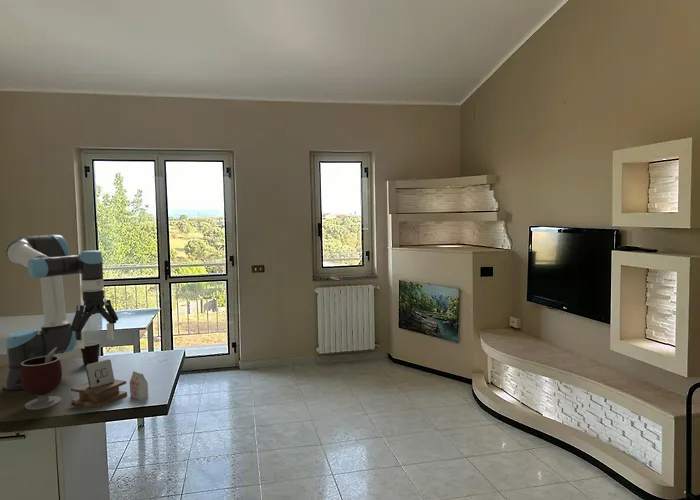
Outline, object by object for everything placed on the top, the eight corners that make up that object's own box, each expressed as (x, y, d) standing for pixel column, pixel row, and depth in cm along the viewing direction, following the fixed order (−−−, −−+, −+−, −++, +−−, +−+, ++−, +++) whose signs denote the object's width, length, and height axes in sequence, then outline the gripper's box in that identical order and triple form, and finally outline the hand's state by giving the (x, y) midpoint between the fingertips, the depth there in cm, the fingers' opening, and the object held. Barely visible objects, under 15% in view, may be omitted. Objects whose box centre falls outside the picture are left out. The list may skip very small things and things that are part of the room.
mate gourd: (45, 411, 191) (42, 358, 190) (13, 409, 193) (9, 357, 192) (74, 396, 206) (71, 347, 205) (44, 394, 209) (41, 346, 207)
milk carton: (139, 394, 207) (137, 369, 207) (148, 397, 203) (147, 372, 203) (130, 396, 204) (129, 372, 204) (139, 400, 200) (138, 375, 200)
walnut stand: (71, 403, 198) (70, 388, 198) (101, 391, 211) (101, 377, 211) (97, 408, 193) (96, 392, 192) (127, 395, 206) (126, 381, 205)
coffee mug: (85, 361, 255) (84, 342, 254) (103, 360, 256) (102, 341, 255) (75, 368, 244) (74, 348, 243) (94, 367, 245) (93, 347, 244)
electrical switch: (91, 389, 197) (89, 365, 197) (85, 387, 200) (82, 364, 200) (115, 382, 204) (112, 359, 204) (108, 381, 207) (106, 358, 207)
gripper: (71, 295, 186) (75, 352, 187) (125, 285, 209) (128, 336, 210) (57, 294, 189) (60, 351, 190) (112, 285, 212) (115, 335, 213)
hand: (96, 343), depth 200 cm, fingers open, 13 cm apart
